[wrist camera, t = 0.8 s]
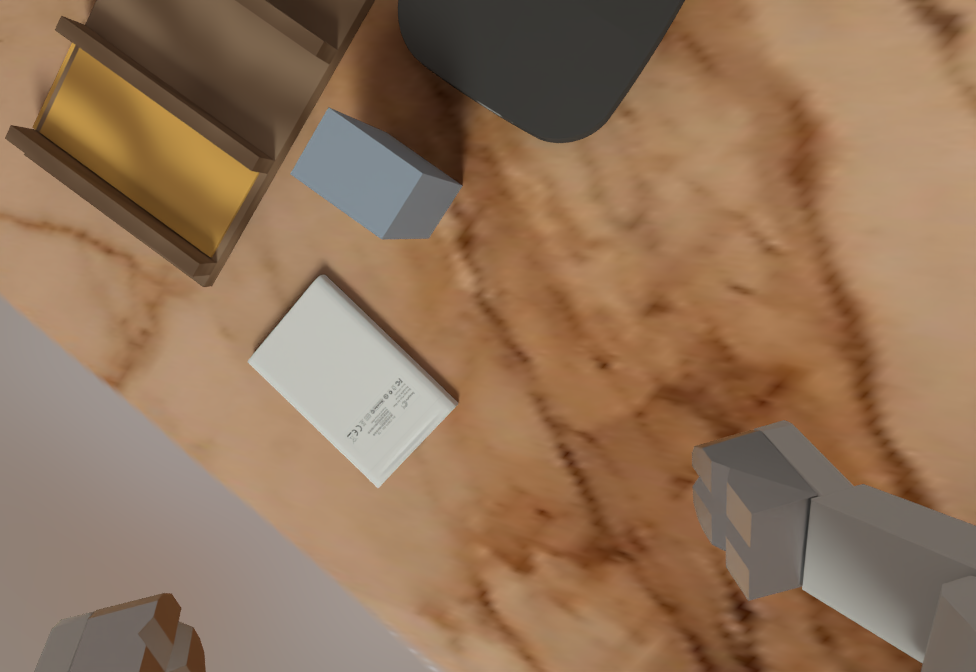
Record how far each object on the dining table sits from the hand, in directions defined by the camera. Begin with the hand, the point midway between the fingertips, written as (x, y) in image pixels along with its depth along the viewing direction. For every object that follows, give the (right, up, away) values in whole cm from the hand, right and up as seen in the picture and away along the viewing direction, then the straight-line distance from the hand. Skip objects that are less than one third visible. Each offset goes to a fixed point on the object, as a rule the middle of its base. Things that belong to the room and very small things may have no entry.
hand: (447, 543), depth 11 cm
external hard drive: (-8, 0, +37) cm, 38 cm away
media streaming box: (+4, +24, +31) cm, 39 cm away
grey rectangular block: (-5, +13, +34) cm, 37 cm away
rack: (-18, +22, +35) cm, 45 cm away
